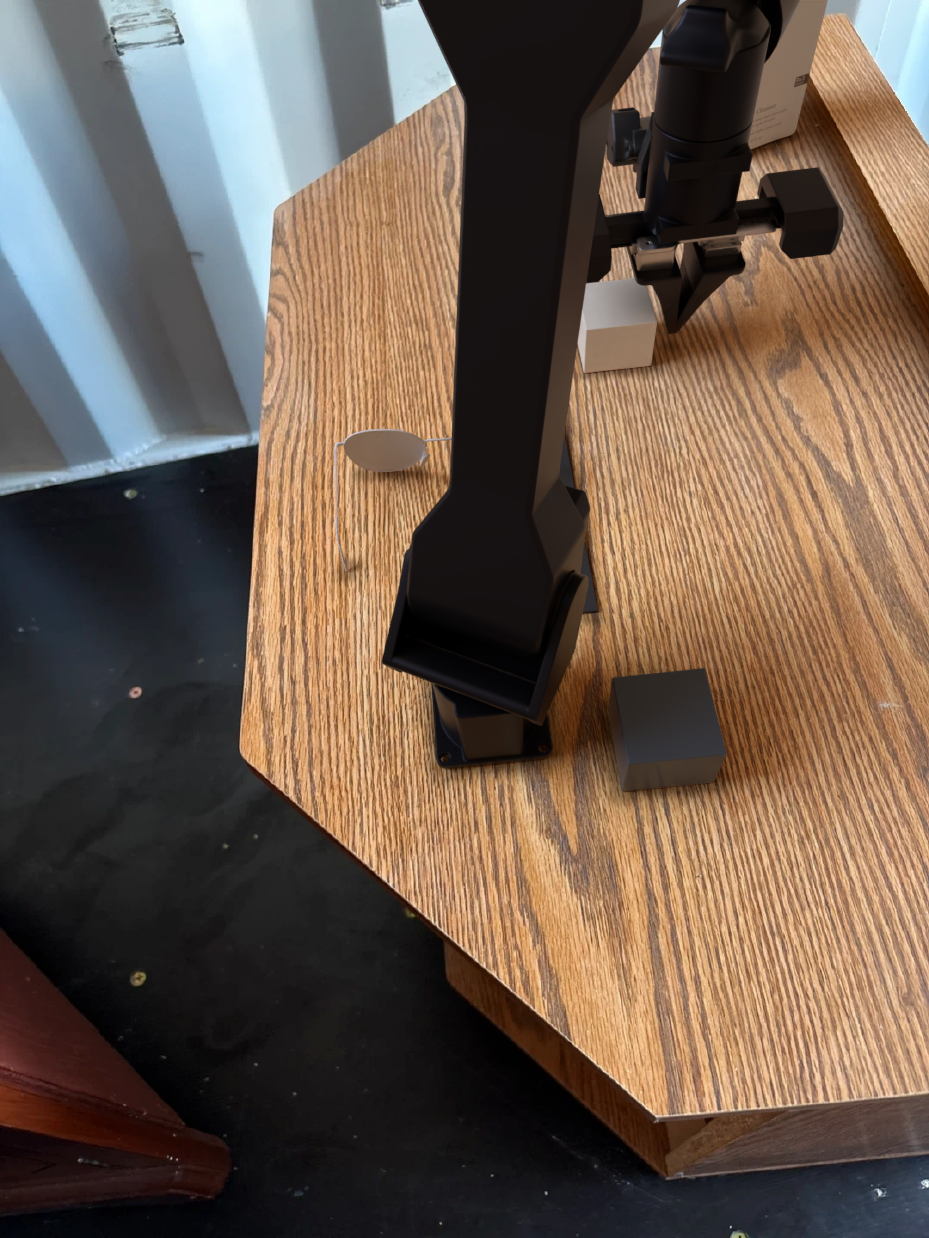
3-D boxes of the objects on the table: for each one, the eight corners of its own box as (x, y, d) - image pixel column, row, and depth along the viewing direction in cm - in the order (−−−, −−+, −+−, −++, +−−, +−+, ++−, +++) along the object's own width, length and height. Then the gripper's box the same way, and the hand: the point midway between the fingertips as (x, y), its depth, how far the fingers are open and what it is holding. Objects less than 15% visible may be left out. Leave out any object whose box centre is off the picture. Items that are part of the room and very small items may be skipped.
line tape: (597, 611, 52) (597, 610, 52) (578, 613, 52) (578, 612, 52) (511, 155, 79) (511, 153, 78) (498, 157, 79) (498, 155, 78)
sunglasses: (544, 461, 59) (545, 418, 54) (551, 570, 56) (552, 535, 51) (346, 472, 60) (330, 431, 55) (341, 581, 57) (324, 547, 52)
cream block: (651, 366, 63) (657, 322, 60) (583, 373, 63) (586, 330, 60) (639, 321, 66) (644, 276, 62) (574, 328, 66) (576, 284, 62)
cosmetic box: (722, 164, 75) (758, -33, 63) (682, 134, 78) (708, -61, 66) (799, 133, 77) (849, -66, 64) (756, 104, 80) (796, -91, 67)
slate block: (714, 782, 46) (727, 754, 43) (621, 792, 46) (628, 764, 43) (694, 700, 49) (705, 667, 45) (606, 709, 49) (611, 676, 45)
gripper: (823, 28, 54) (769, 247, 67) (529, 66, 54) (533, 276, 68) (881, 124, 48) (809, 343, 61) (550, 165, 49) (550, 373, 62)
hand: (670, 330), depth 63 cm, fingers closed
